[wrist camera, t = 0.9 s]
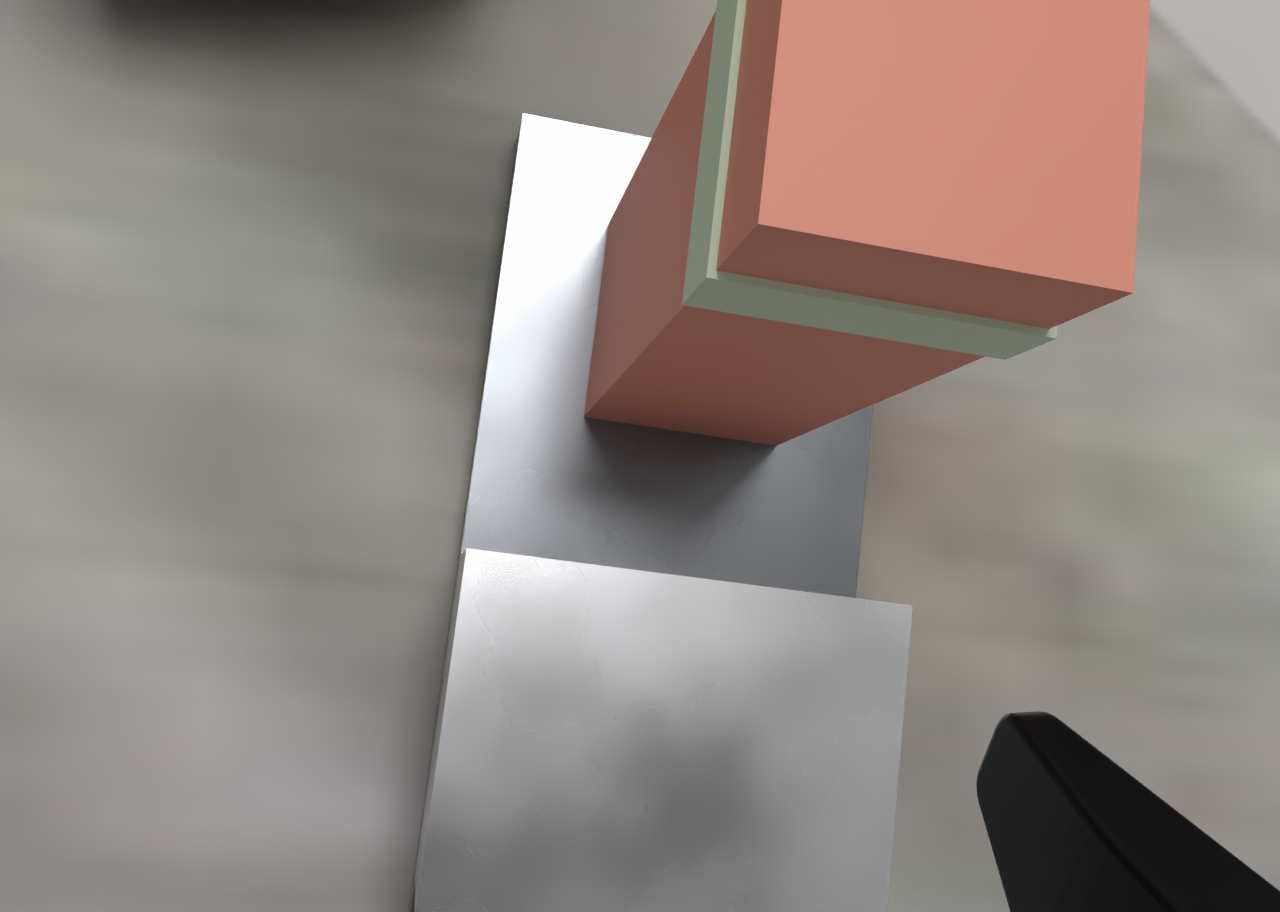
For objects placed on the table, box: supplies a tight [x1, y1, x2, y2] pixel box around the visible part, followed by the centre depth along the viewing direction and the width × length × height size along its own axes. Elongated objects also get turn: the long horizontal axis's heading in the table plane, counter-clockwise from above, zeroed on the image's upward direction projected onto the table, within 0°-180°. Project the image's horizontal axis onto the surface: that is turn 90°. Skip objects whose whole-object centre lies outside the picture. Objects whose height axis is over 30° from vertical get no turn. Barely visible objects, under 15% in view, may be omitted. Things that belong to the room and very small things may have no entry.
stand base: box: [409, 113, 913, 912], centre depth 22 cm, size 16×8×4 cm, turn 173°
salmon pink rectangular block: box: [584, 0, 1150, 446], centre depth 18 cm, size 4×4×12 cm
